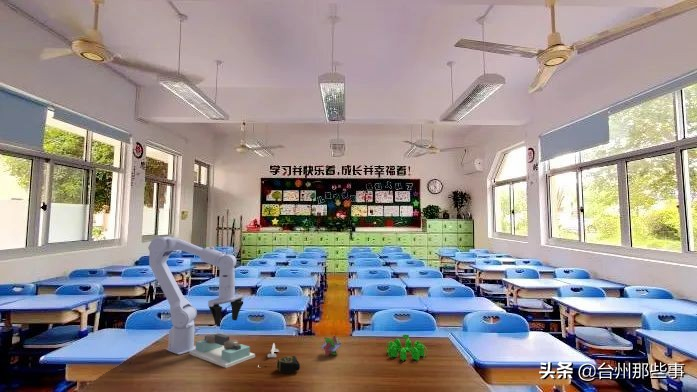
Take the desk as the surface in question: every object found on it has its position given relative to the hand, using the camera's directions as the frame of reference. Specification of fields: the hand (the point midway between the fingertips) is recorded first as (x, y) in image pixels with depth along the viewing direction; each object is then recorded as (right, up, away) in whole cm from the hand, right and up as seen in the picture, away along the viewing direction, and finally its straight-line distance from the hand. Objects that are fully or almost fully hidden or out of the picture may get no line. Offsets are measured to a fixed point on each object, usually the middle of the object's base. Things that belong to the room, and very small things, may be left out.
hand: (226, 322), depth 137 cm
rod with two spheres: (+1, -5, -7) cm, 9 cm away
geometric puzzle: (+41, -9, -8) cm, 42 cm away
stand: (+1, -9, -8) cm, 12 cm away
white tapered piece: (+19, -10, -11) cm, 25 cm away
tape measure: (+28, -8, -21) cm, 36 cm away
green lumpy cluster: (+68, -9, -8) cm, 69 cm away
